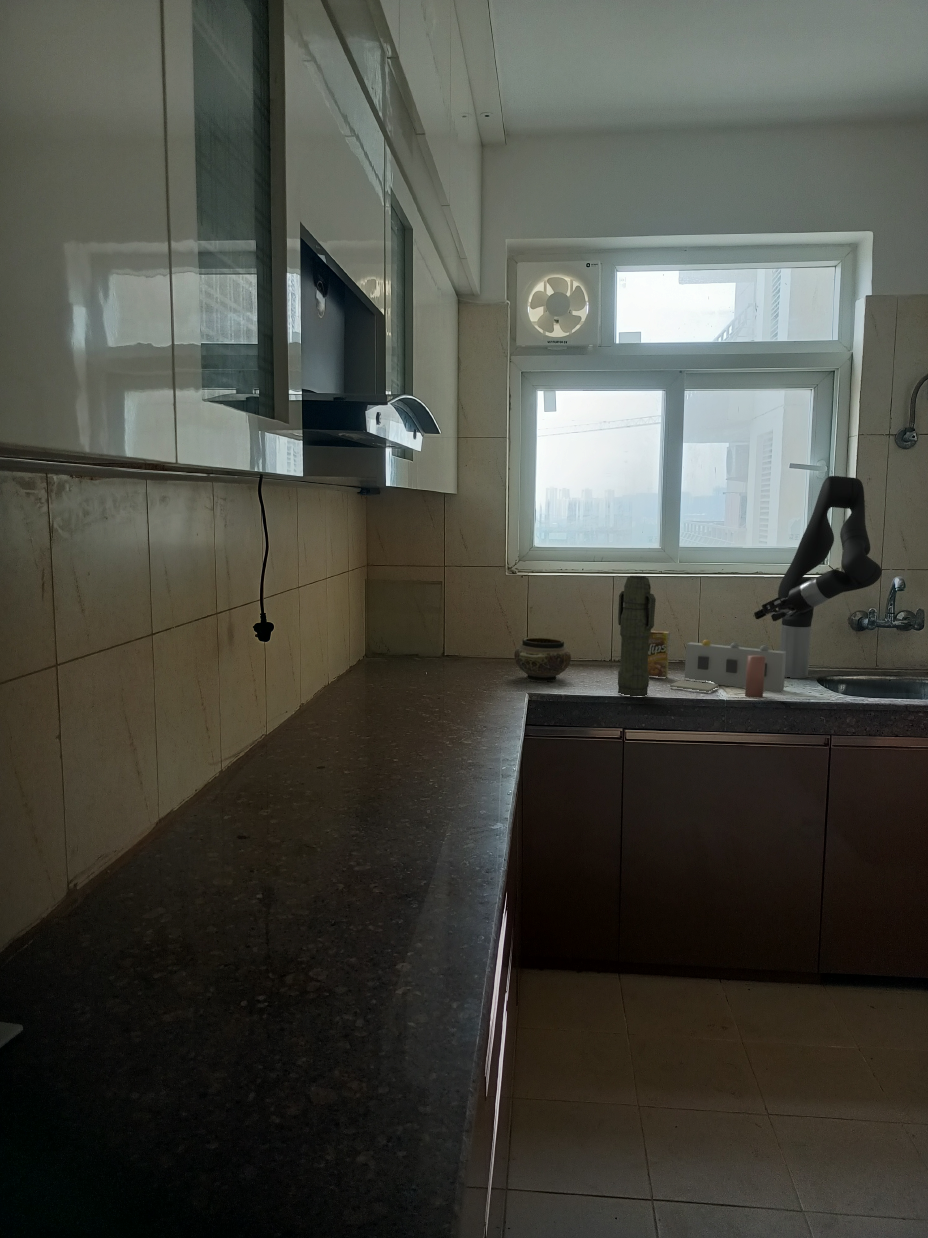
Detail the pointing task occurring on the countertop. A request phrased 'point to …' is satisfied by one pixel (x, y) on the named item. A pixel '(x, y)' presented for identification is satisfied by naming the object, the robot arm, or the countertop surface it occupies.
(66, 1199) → the countertop surface
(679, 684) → the pad
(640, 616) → the thermos
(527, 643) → the ceramic bowl
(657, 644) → the candy box
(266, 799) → the countertop surface
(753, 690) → the pink cylinder
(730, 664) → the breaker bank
